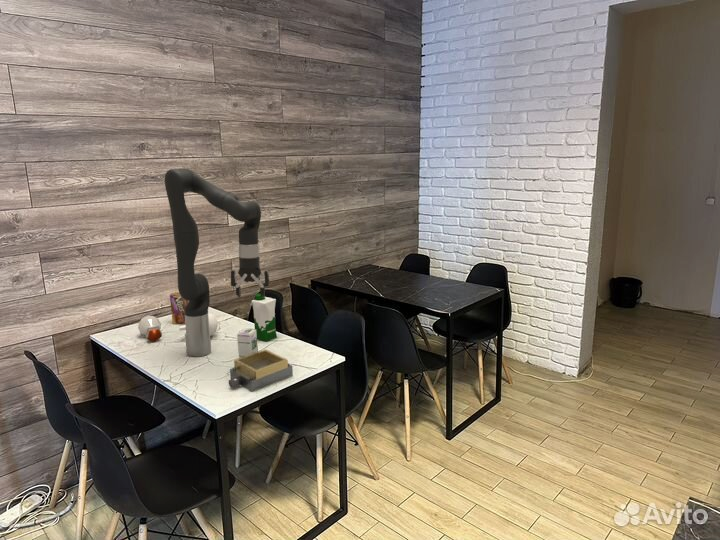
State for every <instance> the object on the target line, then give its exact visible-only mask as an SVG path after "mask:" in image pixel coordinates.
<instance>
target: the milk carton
mask: <svg viewBox="0 0 720 540" xmlns="http://www.w3.org/2000/svg"><path fill="white" fill-rule="evenodd" d="M276 302H277V299H276V298H272V297H267V296H266V295H265V294H264V296H263V297H261V296H260V293H256V294H255V299H253V300H251V305H252V309H253V319H254V320H253V321H254V329H256V332H257V341H261V342H265V343H267V342H269V341H271V340H273V339H275V338H277V337H278V336H277V329H276V316H275V315H276V313H275V310H276V309H275V308H276Z"/></svg>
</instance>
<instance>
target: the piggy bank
mask: <svg viewBox="0 0 720 540" xmlns="http://www.w3.org/2000/svg"><path fill="white" fill-rule="evenodd" d="M208 316H209V329H210V337H212V336H213V335H215V333H216V331H218V326H219V321H218V319H217V316H215V314H213V313H211V312H208ZM178 328H179V329H178V330H179V331H186V324H182V325H181V326H179V327H178Z"/></svg>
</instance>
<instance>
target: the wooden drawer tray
mask: <svg viewBox="0 0 720 540" xmlns="http://www.w3.org/2000/svg"><path fill="white" fill-rule="evenodd" d="M233 363H234V365H233V366H234V367H232V368H230V369H229V376H230V379H229V380H228V385H229V387H230V389H233V388H236V387H238V386H241V387H243V388H245V389H246V390H248V391H250V392H255V391H258V390H260V389H263V388H265V387H268V386H270V385H273V384H276V383H278V382H281V381H283V380H285V379H287V378H290V377H292V376H293V374H294V373H293V365H292V364H290V362H289V360H288V359H287V358H284V357H283V356H280V355H278V354H276V353H274V352H272V351H270V350H268V349H263V350H259V351H258V352H257V353H254V354H251V355H248V356H245V357H242V358H239V357H238V358H237V359H234V360H233Z"/></svg>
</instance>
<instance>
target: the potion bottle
mask: <svg viewBox="0 0 720 540" xmlns="http://www.w3.org/2000/svg"><path fill="white" fill-rule="evenodd" d="M161 327H162V323H161V321H160V319H159V318H158V317H157V316H154V315H146V316H144V317H142V318H141V320H140V321H139V322H138V325H137V328H138V331H139V333H140V334H142V335H143V336H144V337H145V338H146V340H148V341H151V342H153V343H156V342H158V340H160V339H161V338H162V337H163V333H162V331H161Z"/></svg>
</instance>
